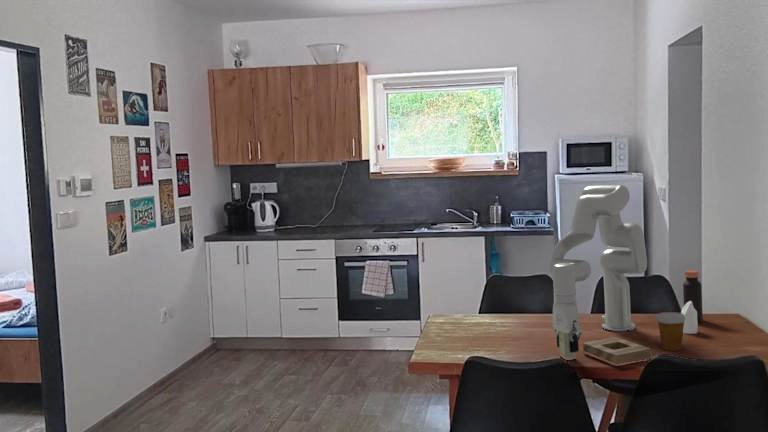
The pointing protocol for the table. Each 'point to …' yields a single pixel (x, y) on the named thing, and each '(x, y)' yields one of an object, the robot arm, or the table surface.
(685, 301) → the bottle
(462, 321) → the table surface
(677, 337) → the disposable coffee cup
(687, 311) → the white house shaped block
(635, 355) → the socket block
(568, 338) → the skincare box
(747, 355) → the table surface
